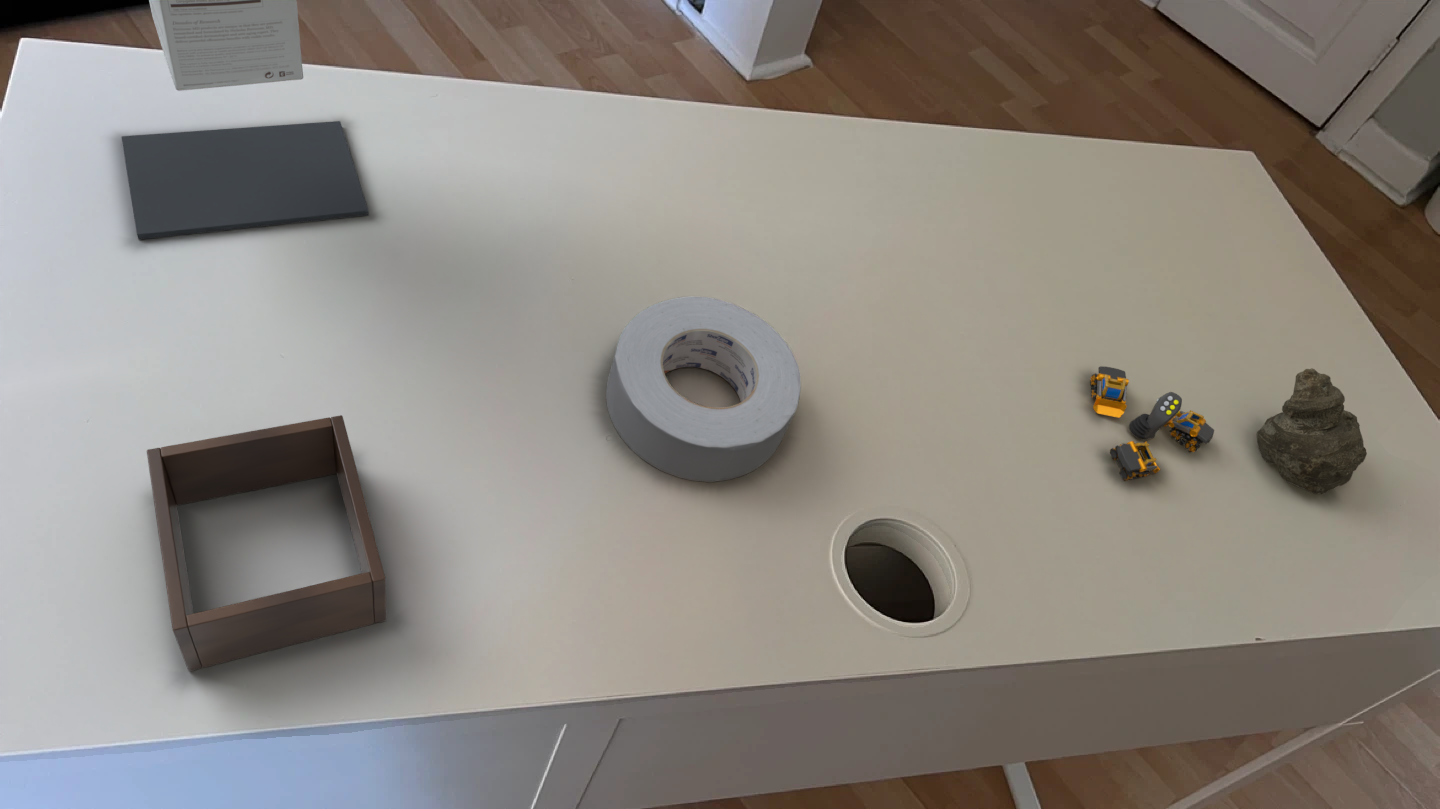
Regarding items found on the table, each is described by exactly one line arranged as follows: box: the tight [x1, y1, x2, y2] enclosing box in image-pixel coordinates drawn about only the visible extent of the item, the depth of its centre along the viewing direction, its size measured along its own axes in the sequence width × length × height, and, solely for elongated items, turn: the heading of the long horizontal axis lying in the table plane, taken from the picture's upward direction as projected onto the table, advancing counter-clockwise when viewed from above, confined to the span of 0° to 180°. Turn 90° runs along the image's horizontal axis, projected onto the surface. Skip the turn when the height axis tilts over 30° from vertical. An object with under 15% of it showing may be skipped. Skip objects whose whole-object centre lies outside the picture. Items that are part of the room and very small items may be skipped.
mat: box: [120, 120, 370, 240], centre depth 92 cm, size 18×12×1 cm, turn 113°
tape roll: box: [605, 295, 802, 483], centre depth 87 cm, size 15×15×5 cm
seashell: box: [1256, 367, 1401, 506], centre depth 98 cm, size 11×12×10 cm
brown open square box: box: [146, 414, 387, 672], centre depth 70 cm, size 12×13×6 cm
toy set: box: [1089, 365, 1215, 482], centre depth 96 cm, size 12×11×5 cm
